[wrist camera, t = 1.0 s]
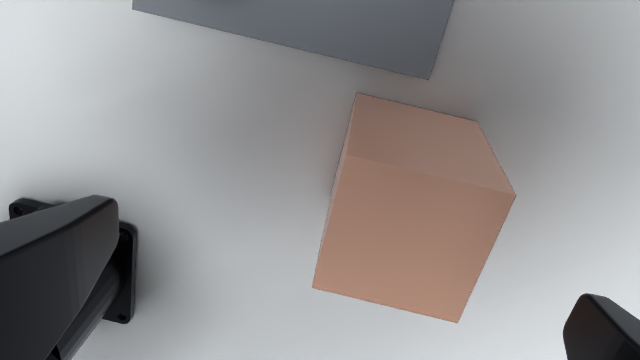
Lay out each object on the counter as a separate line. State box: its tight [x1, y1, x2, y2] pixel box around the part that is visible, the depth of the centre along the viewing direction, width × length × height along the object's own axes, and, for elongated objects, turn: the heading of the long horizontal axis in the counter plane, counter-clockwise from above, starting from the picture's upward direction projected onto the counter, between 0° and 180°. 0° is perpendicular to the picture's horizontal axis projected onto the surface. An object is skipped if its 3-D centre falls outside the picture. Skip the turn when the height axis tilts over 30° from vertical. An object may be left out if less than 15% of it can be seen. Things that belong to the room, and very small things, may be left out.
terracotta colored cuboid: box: [312, 93, 516, 323], centre depth 18 cm, size 5×5×7 cm
